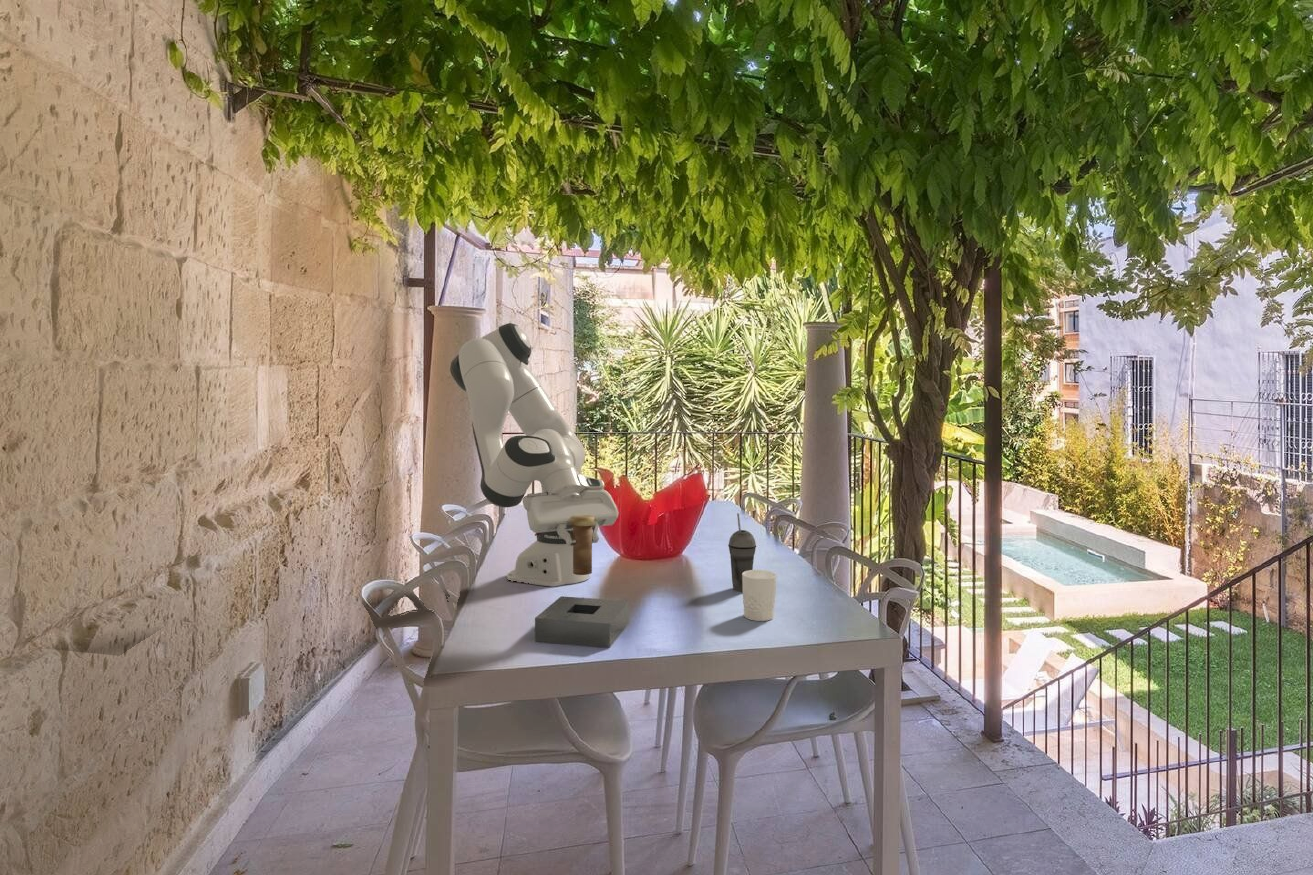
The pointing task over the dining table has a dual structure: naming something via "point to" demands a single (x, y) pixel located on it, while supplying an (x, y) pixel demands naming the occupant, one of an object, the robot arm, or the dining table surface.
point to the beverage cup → (741, 555)
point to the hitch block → (582, 622)
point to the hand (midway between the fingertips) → (583, 542)
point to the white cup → (759, 594)
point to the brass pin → (582, 544)
